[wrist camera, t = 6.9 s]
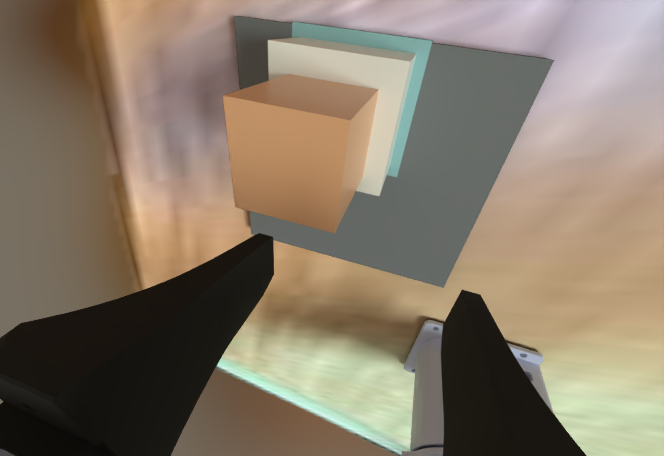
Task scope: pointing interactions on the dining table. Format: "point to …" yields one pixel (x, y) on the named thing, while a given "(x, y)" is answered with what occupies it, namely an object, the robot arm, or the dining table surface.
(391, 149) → the base block
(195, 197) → the dining table surface
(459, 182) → the grey flat plate
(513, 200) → the dining table surface
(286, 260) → the dining table surface
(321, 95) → the terracotta block
